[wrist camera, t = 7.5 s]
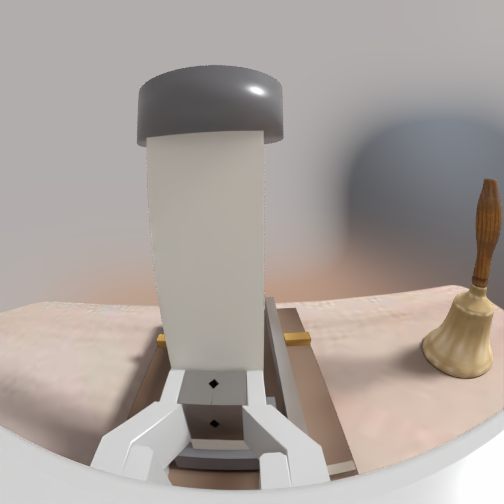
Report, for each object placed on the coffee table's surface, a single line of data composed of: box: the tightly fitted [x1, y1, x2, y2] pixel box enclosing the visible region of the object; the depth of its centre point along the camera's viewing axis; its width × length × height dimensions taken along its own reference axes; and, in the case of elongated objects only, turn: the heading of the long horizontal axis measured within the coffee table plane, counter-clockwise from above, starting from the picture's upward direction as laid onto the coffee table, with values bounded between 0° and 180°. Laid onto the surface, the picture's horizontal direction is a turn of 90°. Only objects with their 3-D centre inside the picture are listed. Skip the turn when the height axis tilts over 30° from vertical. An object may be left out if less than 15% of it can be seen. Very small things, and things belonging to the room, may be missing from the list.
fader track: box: [127, 297, 359, 490], centre depth 15 cm, size 12×24×4 cm, turn 2°
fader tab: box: [137, 65, 283, 470], centre depth 9 cm, size 5×4×15 cm
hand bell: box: [422, 179, 502, 378], centre depth 17 cm, size 8×8×16 cm
